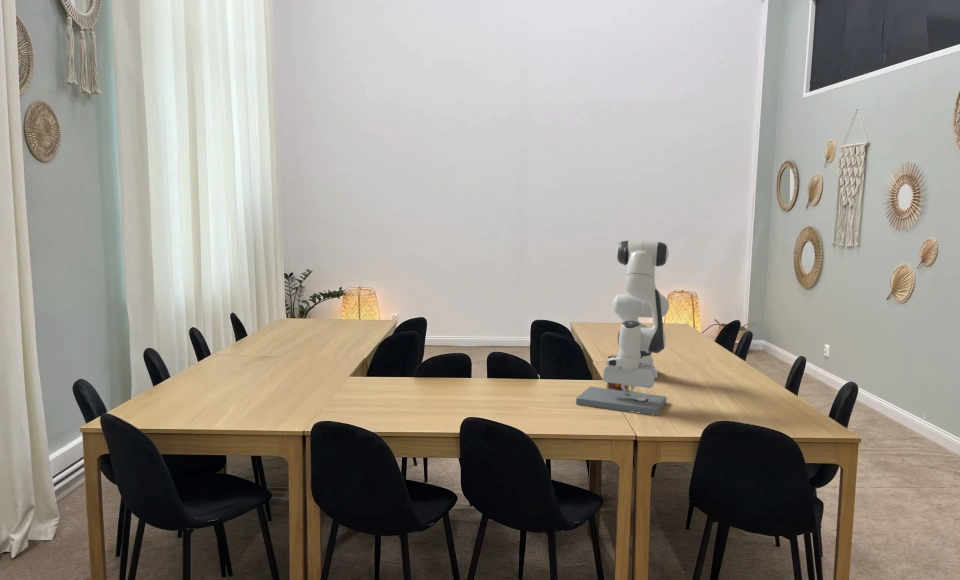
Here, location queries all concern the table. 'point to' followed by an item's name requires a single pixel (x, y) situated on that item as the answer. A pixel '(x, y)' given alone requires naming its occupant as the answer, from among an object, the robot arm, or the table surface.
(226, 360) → the table surface
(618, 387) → the candy box
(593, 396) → the board
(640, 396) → the steel ball
